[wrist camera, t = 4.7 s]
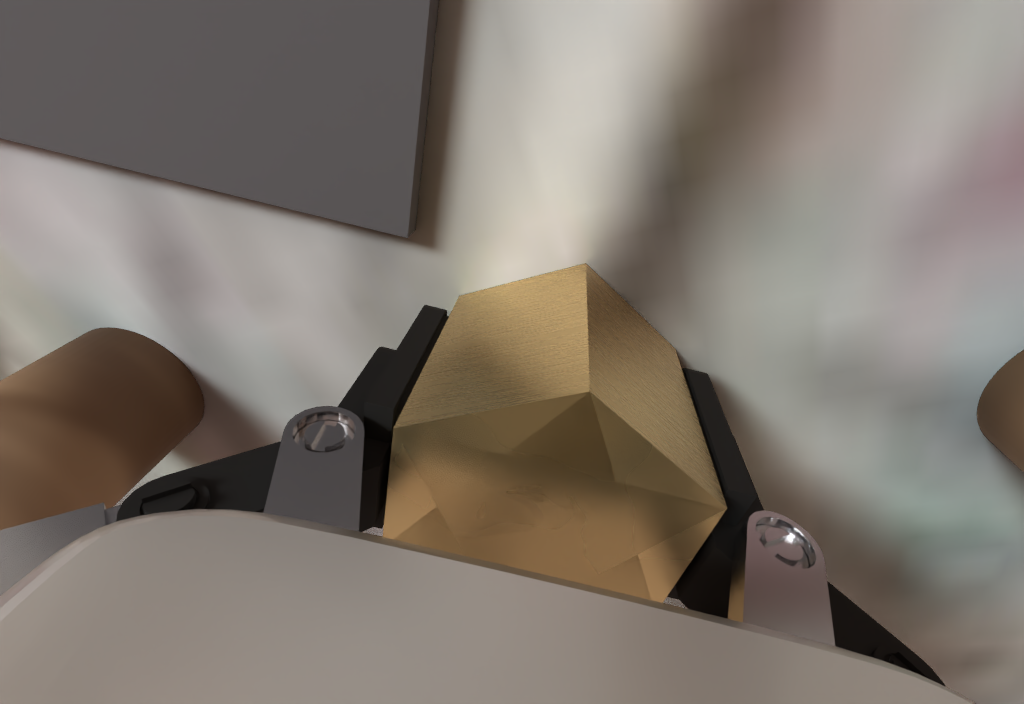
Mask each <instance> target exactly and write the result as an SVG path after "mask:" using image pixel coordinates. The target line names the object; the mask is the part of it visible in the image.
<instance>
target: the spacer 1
mask: <svg viewBox="0 0 1024 704" xmlns="http://www.w3.org/2000/svg"><path fill="white" fill-rule="evenodd" d="M203 414H204V399H203V395H202V392H201V389H200V387H199V385H198V383H197V381H196V379H195V378H194V377H193V375H192V374H191V372H190V371H189V370H188V369H187V367H186V366H185V365H184V364H183V363H182V362H181V361H180V360H179V359H178V358H177V357H176V356H174V355H173V354H172V353H171V352H170V351H168V350H167V349H165V348H164V347H163V346H161V345H160V344H158V343H156V342H155V341H153V340H151V339H149V338H147V337H145V336H142V335H140V334H137V333H135V332H132V331H128V330H124V329H119V328H99V329H94V330H91V331H89V332H87V333H85V334H83V335H82V336H80V337H78V338H76V339H74V340H73V341H71V342H69V343H67V344H65V345H64V346H62V347H60V348H58V349H57V350H55V351H53V352H51V353H49V354H48V355H46V356H44V357H42V358H41V359H39V360H37V361H35V362H33V363H32V364H30V365H28V366H26V367H24V368H23V369H21V370H19V371H17V372H16V373H14V374H12V375H10V376H8V377H7V378H5V379H3V380H1V381H0V530H3V529H7V528H10V527H14V526H18V525H22V524H25V523H29V522H33V521H36V520H40V519H44V518H48V517H51V516H55V515H59V514H63V513H66V512H70V511H74V510H78V509H81V508H85V507H89V506H92V505H96V504H100V503H104V504H105V506H106V509H108V508H112V507H113V506H114V505H115V504H116V503H117V502H118V501H119V500H121V499H122V498H123V497H124V496H125V495H126V494H127V493H128V492H129V491H130V490H131V489H132V488H133V487H134V486H135V485H136V484H137V483H138V482H139V481H140V480H141V479H142V478H143V477H144V476H145V475H146V474H147V473H148V472H150V471H151V470H152V469H153V468H154V467H155V466H156V465H157V464H158V463H159V462H160V461H161V460H162V459H163V458H164V457H165V456H166V455H167V454H168V453H169V452H170V451H171V450H172V449H173V448H174V447H175V446H176V445H177V444H179V443H180V442H181V441H182V440H183V439H184V438H185V437H186V436H187V435H188V434H189V433H190V432H191V431H192V430H193V429H194V428H195V427H196V426H197V425H198V424H199V423H200V421H201V419H202V417H203Z"/></svg>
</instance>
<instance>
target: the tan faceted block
mask: <svg viewBox="0 0 1024 704" xmlns="http://www.w3.org/2000/svg"><path fill="white" fill-rule="evenodd" d="M726 509H727V506H726V503H725V500H724V497H723V494H722V491H721V488H720V485H719V482H718V479H717V476H716V473H715V470H714V467H713V463H712V460H711V457H710V454H709V451H708V448H707V445H706V442H705V439H704V436H703V433H702V430H701V427H700V424H699V421H698V418H697V414H696V411H695V408H694V405H693V402H692V399H691V396H690V393H689V390H688V387H687V384H686V381H685V378H684V375H683V372H682V369H681V365H680V362H679V359H678V356H677V353H676V350H675V348H674V347H673V346H672V345H671V344H670V343H669V342H668V341H667V340H666V339H664V338H663V337H662V336H661V335H660V334H659V333H658V332H657V331H656V330H655V329H654V328H653V327H652V326H651V325H650V324H649V323H648V322H647V321H646V320H645V319H644V318H642V317H641V316H640V315H639V314H638V313H637V312H636V311H635V310H634V309H633V308H632V307H631V306H630V305H629V304H628V303H627V302H626V301H625V300H624V299H623V298H622V297H620V296H619V295H618V294H617V293H616V292H615V291H614V290H613V289H612V288H611V287H610V286H609V285H608V284H607V283H606V282H605V281H604V280H603V279H602V278H601V277H600V276H598V275H597V274H596V273H595V272H594V271H593V270H592V269H591V268H590V267H589V266H588V265H587V264H586V263H585V264H581V265H577V266H574V267H570V268H566V269H562V270H558V271H554V272H550V273H546V274H543V275H539V276H535V277H531V278H527V279H523V280H519V281H515V282H511V283H508V284H504V285H500V286H496V287H492V288H488V289H484V290H480V291H477V292H473V293H469V294H465V295H461V296H459V298H458V300H457V302H456V304H455V306H454V308H453V310H452V312H451V314H450V316H449V318H448V320H447V322H446V324H445V326H444V328H443V330H442V332H441V334H440V336H439V338H438V340H437V342H436V344H435V346H434V348H433V350H432V352H431V354H430V356H429V358H428V360H427V362H426V364H425V366H424V368H423V370H422V372H421V374H420V376H419V378H418V380H417V382H416V384H415V386H414V388H413V390H412V392H411V394H410V396H409V398H408V400H407V402H406V404H405V406H404V408H403V410H402V412H401V414H400V416H399V418H398V420H397V422H396V424H395V426H394V428H393V438H392V448H391V458H390V468H389V478H388V488H387V498H386V508H385V518H384V528H383V537H386V538H390V539H394V540H399V541H403V542H407V543H412V544H416V545H420V546H425V547H429V548H433V549H437V550H442V551H446V552H450V553H455V554H459V555H463V556H468V557H472V558H476V559H480V560H485V561H489V562H493V563H498V564H502V565H506V566H510V567H515V568H519V569H523V570H527V571H531V572H536V573H540V574H544V575H548V576H552V577H557V578H561V579H565V580H569V581H573V582H578V583H582V584H586V585H590V586H594V587H599V588H603V589H607V590H611V591H615V592H619V593H624V594H628V595H632V596H636V597H640V598H644V599H649V600H653V601H657V602H661V603H663V602H664V600H665V599H666V597H667V596H668V594H669V593H670V591H671V590H672V588H673V587H674V585H675V584H676V583H677V581H678V580H679V578H680V577H681V575H682V574H683V572H684V571H685V569H686V568H687V566H688V565H689V564H690V562H691V561H692V559H693V558H694V556H695V555H696V553H697V552H698V550H699V549H700V547H701V546H702V545H703V543H704V542H705V540H706V539H707V537H708V536H709V534H710V533H711V531H712V530H713V528H714V527H715V526H716V524H717V523H718V521H719V520H720V518H721V517H722V515H723V514H724V512H725V511H726Z"/></svg>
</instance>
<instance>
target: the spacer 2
mask: <svg viewBox="0 0 1024 704" xmlns="http://www.w3.org/2000/svg"><path fill="white" fill-rule="evenodd" d="M977 420H978V424H979V427H980V430H981V431H982V433H983V434H984V436H985V437H986V438H987V439H988V440H990V441H991V442H992V443H993V444H994V445H995V446H996V447H997V448H998V449H999V450H1000V451H1001V452H1002V453H1003V454H1004V455H1005V456H1007V457H1008V458H1009V459H1010V460H1011V461H1012V462H1013V463H1014V464H1015V465H1016V466H1017V467H1018V468H1019V469H1020V470H1022V471H1023V472H1024V350H1023V351H1021V352H1020V353H1018V354H1017V355H1016V356H1014V357H1013V358H1012V359H1011V360H1009V361H1008V362H1007V363H1006V364H1005V365H1004V366H1003V367H1002V368H1001V369H1000V370H999V371H998V372H997V373H996V374H995V375H994V376H993V378H992V379H991V380H990V381H989V383H988V384H987V386H986V387H985V389H984V391H983V393H982V395H981V397H980V400H979V404H978V407H977Z"/></svg>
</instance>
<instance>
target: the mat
mask: <svg viewBox="0 0 1024 704" xmlns="http://www.w3.org/2000/svg"><path fill="white" fill-rule="evenodd" d="M438 4H439V0H0V138H1V139H5V140H9V141H14V142H18V143H22V144H26V145H30V146H34V147H38V148H42V149H46V150H50V151H54V152H58V153H63V154H67V155H71V156H75V157H79V158H83V159H87V160H91V161H95V162H99V163H103V164H107V165H112V166H116V167H120V168H124V169H128V170H132V171H136V172H140V173H144V174H148V175H152V176H156V177H160V178H165V179H169V180H173V181H177V182H181V183H185V184H189V185H193V186H197V187H201V188H205V189H209V190H214V191H218V192H222V193H226V194H230V195H234V196H238V197H242V198H246V199H250V200H254V201H258V202H263V203H267V204H271V205H275V206H279V207H283V208H287V209H291V210H295V211H299V212H303V213H307V214H311V215H316V216H320V217H324V218H328V219H332V220H336V221H340V222H344V223H348V224H352V225H356V226H360V227H365V228H369V229H373V230H377V231H381V232H385V233H389V234H393V235H397V236H401V237H405V238H408V237H409V236H410V235H411V234H412V233H413V232H414V231H415V229H416V219H417V209H418V200H419V190H420V180H421V170H422V160H423V151H424V141H425V131H426V121H427V112H428V102H429V92H430V82H431V73H432V63H433V53H434V43H435V33H436V24H437V14H438Z"/></svg>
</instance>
